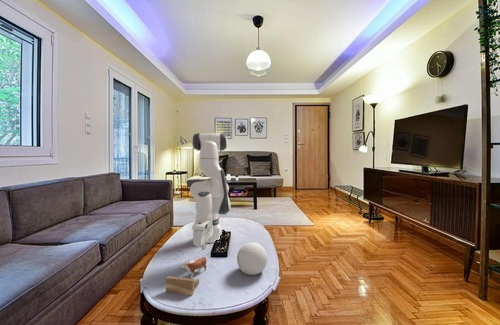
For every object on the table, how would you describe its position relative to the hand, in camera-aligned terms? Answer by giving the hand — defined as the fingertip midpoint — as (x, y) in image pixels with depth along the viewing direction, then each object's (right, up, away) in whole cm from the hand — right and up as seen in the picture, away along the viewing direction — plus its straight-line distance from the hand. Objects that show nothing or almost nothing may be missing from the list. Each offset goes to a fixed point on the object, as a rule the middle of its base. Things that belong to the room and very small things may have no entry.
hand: (204, 249), depth 126 cm
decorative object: (+25, -9, -8) cm, 28 cm away
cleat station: (-4, -9, -21) cm, 23 cm away
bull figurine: (-2, -9, -10) cm, 14 cm away
